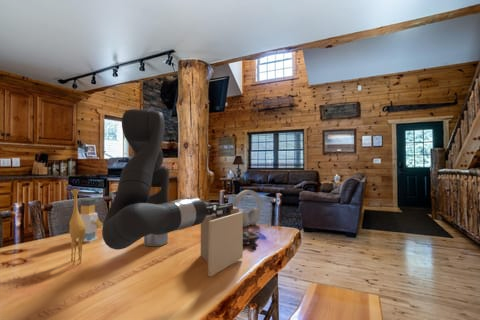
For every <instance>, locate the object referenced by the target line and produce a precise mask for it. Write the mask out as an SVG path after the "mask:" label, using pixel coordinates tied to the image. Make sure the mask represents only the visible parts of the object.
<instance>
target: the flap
mask: <svg viewBox="0 0 480 320" xmlns="http://www.w3.org/2000/svg"><path fill="white" fill-rule="evenodd" d="M243 228H244V227H243V212H239V213H235V214H232V215H228V216H225V217H221V218H218V219H214V220H211V221H209V251H208V263H207V265H208V266H207V267H208V268H207V269H208V270H207V271H208V273H207V275H208V276H209V277H213V276H214V275H216V274H218V273H220V272H221V271H222V270H224V269H225V268H227V267H229V266H231V265H233V264H234V263H236V262H238V261H239V260H241V259H242V258H243V252H244V251H243V246H244V244H243V231H244V230H243Z"/></svg>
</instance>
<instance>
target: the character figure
mask: <svg viewBox="0 0 480 320" xmlns="http://www.w3.org/2000/svg"><path fill="white" fill-rule="evenodd" d="M79 214H80V216H81V218H82V220H83V222H84V224H85V228H86V232H85V237H84V239H83V242H86V243H92V242H93V240H94V241H96V240H98V238H99V237H98V236H96V232H98V229H102V227H103V224H104V223H103V222H102V221H100V219H99V216H98V212H96V198H95V199H93V198H92V199H90V198H86V199H82V200H80V213H79ZM85 240H86V241H85Z"/></svg>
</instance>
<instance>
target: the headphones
mask: <svg viewBox="0 0 480 320" xmlns="http://www.w3.org/2000/svg"><path fill="white" fill-rule="evenodd" d="M248 194H249V195H252V197H254V199H255V200H256V202H257V208H255V207H251V208H250V209H248V210H247V212H246V211H245V209H242V208H239V212H243V228H246V227H247V226H248V225H249V226H256V225H257V223H259V221H260V220H261V219H260V218H261V215H260V214H261V211H262V201H261V197H260V195H259V193H258V192H256V191H255V190H251V189H245V190H244V189H243V190H242V191H240V192H239V193H238V194H237V195H236V196H235V198H234V201H233V206H234V207H237V205H238V203H239V202H240V201H241V199H242V198H243V197H244V196H245V195H248ZM237 208H238V207H237Z"/></svg>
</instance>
